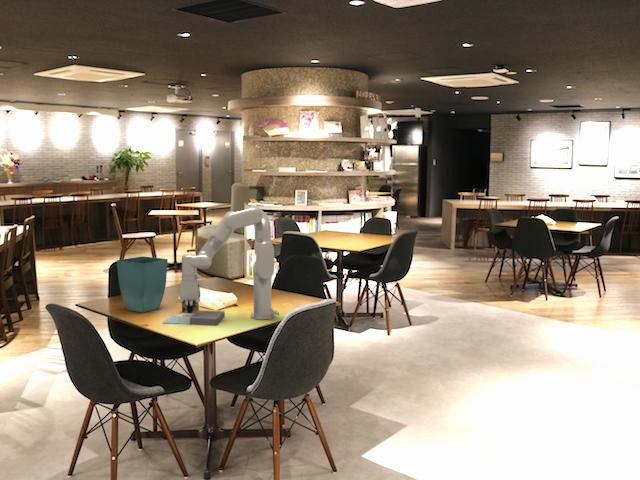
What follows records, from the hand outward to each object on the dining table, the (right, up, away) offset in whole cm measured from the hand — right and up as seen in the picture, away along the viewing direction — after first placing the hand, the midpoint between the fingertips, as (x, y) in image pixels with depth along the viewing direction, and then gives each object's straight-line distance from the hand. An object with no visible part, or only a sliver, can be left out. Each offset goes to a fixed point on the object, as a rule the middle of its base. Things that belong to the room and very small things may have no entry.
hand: (189, 312), depth 330 cm
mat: (-5, -4, +1) cm, 7 cm away
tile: (-2, -4, +1) cm, 4 cm away
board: (+9, -4, 0) cm, 10 cm away
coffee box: (-3, -2, +17) cm, 18 cm away
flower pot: (-31, -1, +23) cm, 39 cm away
